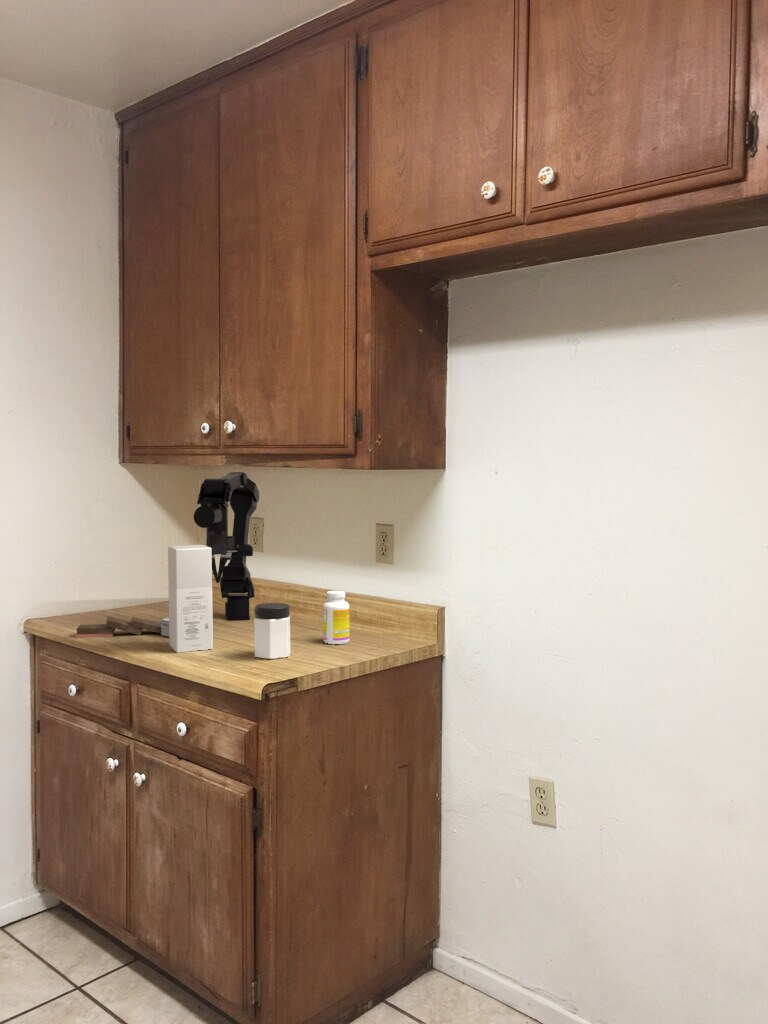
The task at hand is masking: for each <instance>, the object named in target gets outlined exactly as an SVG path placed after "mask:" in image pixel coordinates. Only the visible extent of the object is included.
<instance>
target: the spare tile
mask: <svg viewBox="0 0 768 1024" xmlns="http://www.w3.org/2000/svg"><path fill="white" fill-rule="evenodd" d="M114 633H115V631H114V632H113V634H77V633H76V634H75V638H76V639H86V638H87V639H88V638H89V639H90V638H92V639H93V638H110V637H109V636H112V637H113V636H114Z"/></svg>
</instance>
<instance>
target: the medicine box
mask: <svg viewBox="0 0 768 1024" xmlns="http://www.w3.org/2000/svg"><path fill="white" fill-rule="evenodd" d="M160 624H161V633H160V634H161V636H163V637H168V638H169V617H166V618H162V619H161V621H160Z"/></svg>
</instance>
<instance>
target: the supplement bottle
mask: <svg viewBox="0 0 768 1024" xmlns="http://www.w3.org/2000/svg"><path fill="white" fill-rule="evenodd" d="M326 597H327V601H325V602H324V603H323V606H322V613H323V614H322V621H323V622H322V624H323V628H322V629H323V631H322V634H323V637H322V638H323V642H324V643H325V644H327V643H328V644H327V645H335V644H339V645H344V644H345V645H346V644H348V643H349V642H350V639H351V637H350V635H351V634H350V630H351V629H350V603H349V602H348V601H345V598H346V592H345V591H344V590H343V591H342V590H330V591H327V592H326Z"/></svg>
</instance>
